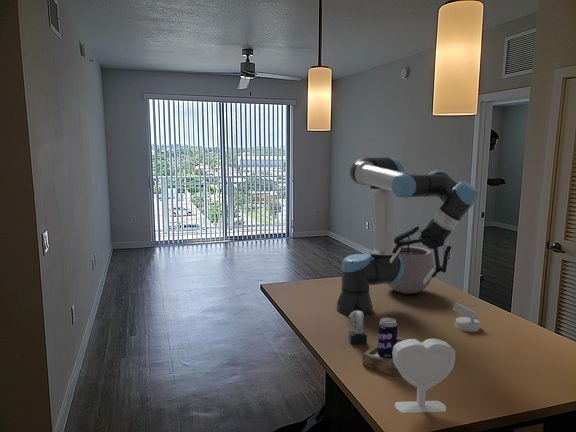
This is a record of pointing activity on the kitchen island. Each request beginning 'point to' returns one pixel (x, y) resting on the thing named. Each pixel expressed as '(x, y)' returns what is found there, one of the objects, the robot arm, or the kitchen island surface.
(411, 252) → the plant pot
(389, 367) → the brown divided tray
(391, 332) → the beverage can
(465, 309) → the wall hook
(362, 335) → the watch
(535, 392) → the kitchen island surface
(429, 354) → the heart sculpture
